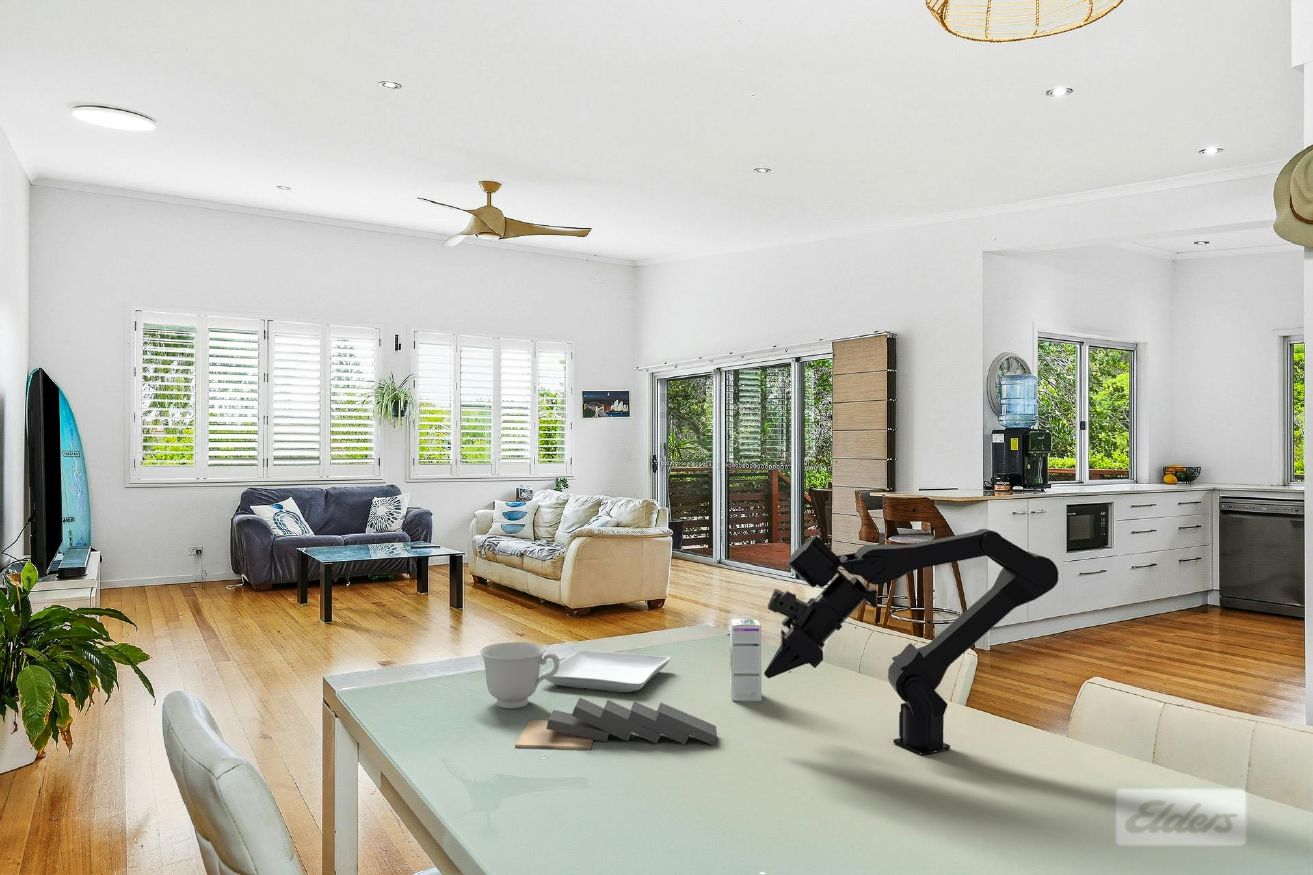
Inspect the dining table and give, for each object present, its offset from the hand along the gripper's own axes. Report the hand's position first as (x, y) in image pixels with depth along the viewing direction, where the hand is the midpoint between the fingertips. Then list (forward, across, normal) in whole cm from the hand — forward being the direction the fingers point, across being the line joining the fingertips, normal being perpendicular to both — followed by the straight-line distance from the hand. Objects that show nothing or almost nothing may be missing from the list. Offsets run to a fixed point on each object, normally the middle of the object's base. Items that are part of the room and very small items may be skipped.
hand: (766, 675), depth 138 cm
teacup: (+38, -13, -26) cm, 48 cm away
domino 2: (+22, +1, -10) cm, 24 cm away
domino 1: (+25, +2, -12) cm, 27 cm away
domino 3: (+19, +1, -6) cm, 20 cm away
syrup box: (+10, -24, +4) cm, 27 cm away
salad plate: (+28, -32, -17) cm, 46 cm away
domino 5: (+13, 0, +1) cm, 13 cm away
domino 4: (+16, +1, -3) cm, 16 cm away
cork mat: (+31, +2, -18) cm, 36 cm away
